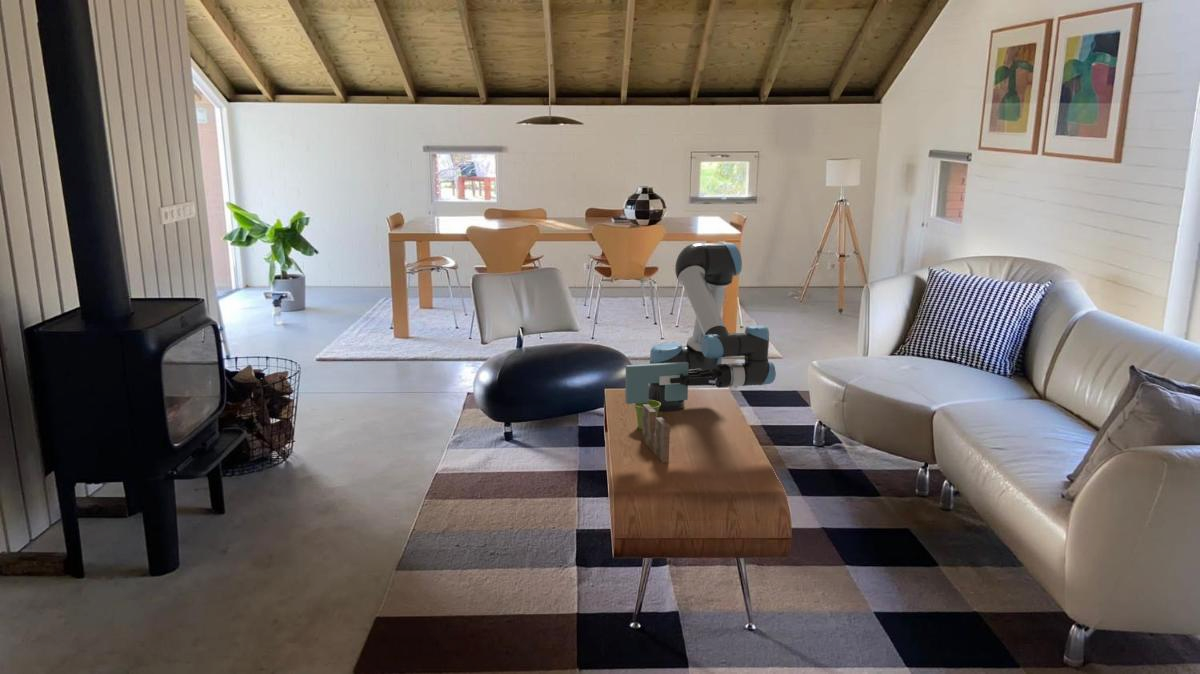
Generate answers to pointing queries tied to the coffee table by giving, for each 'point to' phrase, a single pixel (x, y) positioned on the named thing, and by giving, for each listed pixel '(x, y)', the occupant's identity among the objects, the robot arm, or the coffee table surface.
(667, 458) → the walnut board
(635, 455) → the coffee table surface
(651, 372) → the slotted plate
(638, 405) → the plant pot
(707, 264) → the robot arm
